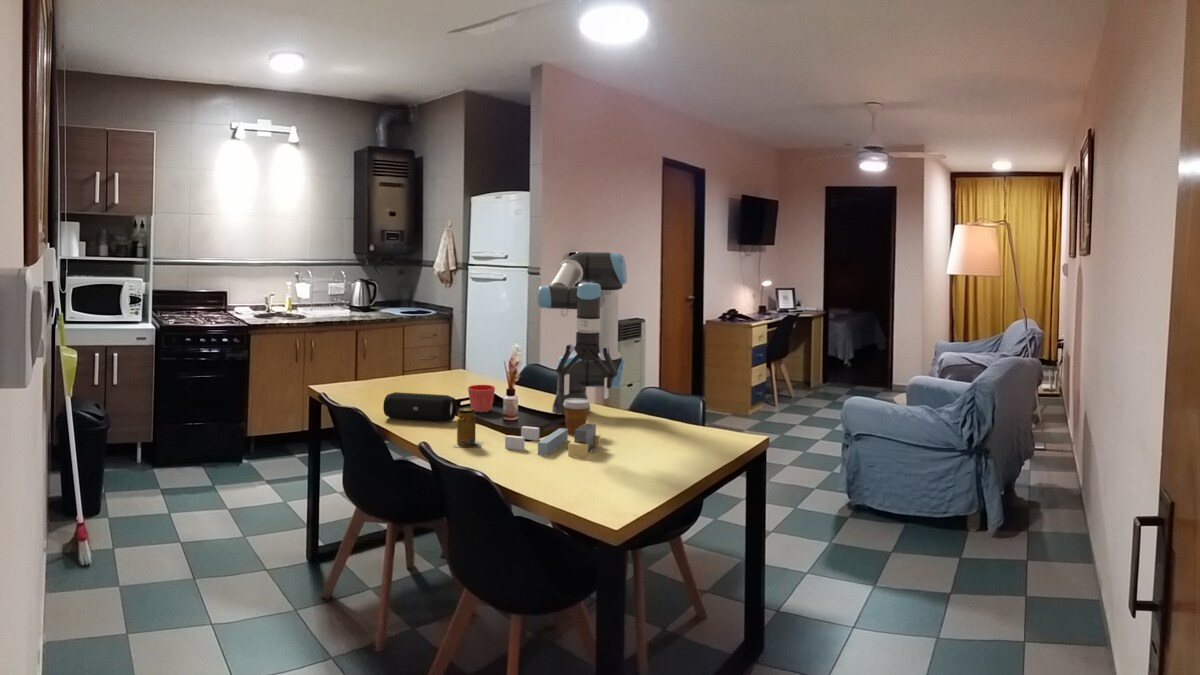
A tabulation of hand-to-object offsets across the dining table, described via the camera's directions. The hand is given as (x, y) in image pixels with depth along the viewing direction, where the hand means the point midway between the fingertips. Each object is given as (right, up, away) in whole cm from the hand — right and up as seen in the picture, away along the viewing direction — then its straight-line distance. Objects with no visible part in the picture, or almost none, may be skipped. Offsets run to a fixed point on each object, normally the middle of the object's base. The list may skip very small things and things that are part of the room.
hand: (586, 396), depth 245 cm
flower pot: (-43, -10, +55) cm, 70 cm away
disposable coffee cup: (-4, -15, +24) cm, 29 cm away
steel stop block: (-1, -18, +2) cm, 18 cm away
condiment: (-39, -17, +6) cm, 43 cm away
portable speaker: (-63, -12, +37) cm, 74 cm away
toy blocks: (-11, -17, +5) cm, 21 cm away
